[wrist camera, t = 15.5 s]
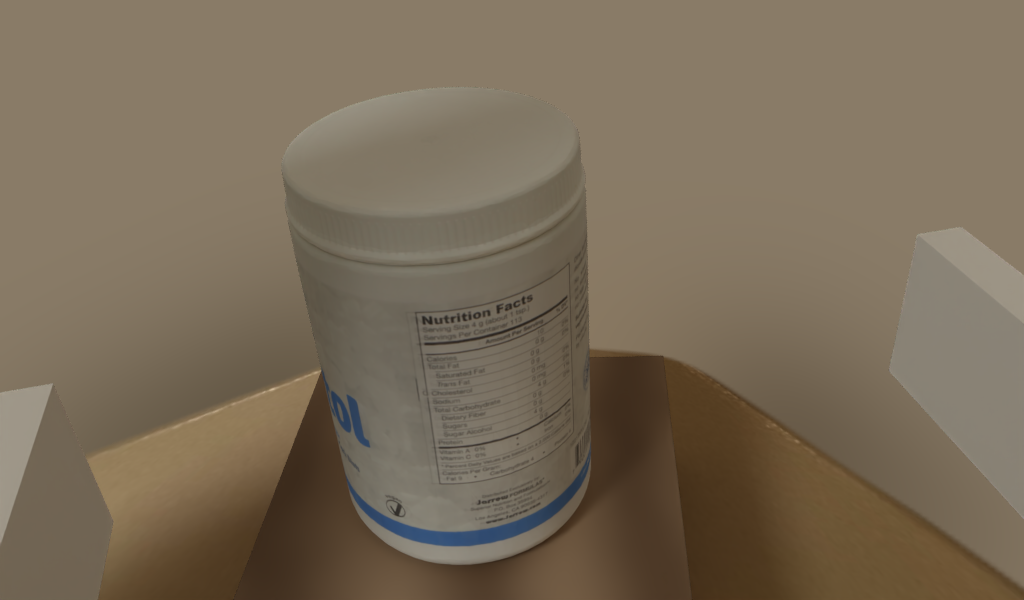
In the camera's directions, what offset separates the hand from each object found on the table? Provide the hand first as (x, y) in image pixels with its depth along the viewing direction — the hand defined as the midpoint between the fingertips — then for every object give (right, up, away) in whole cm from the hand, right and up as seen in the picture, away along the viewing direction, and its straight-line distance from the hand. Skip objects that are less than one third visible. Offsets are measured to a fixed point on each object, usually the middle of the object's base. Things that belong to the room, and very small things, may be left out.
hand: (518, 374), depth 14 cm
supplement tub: (-2, -6, +22) cm, 23 cm away
